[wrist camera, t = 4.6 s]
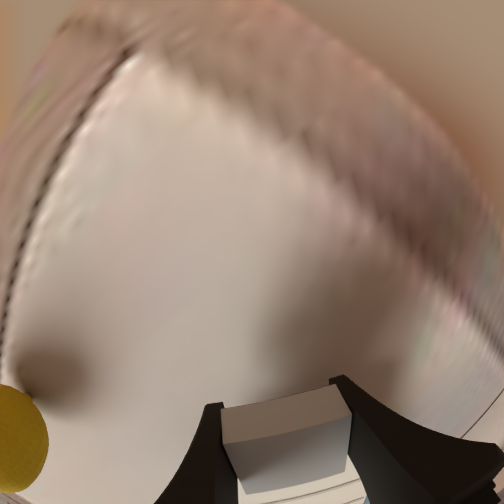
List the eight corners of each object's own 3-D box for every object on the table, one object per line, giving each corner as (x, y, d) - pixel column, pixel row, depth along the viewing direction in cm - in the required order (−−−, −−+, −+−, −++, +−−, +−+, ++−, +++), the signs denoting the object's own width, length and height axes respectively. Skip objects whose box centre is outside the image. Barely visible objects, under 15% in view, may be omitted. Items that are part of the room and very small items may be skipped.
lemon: (38, 361, 12) (-30, 464, 4) (79, 430, 13) (44, 528, 5) (-16, 357, 11) (-78, 431, 3) (22, 421, 13) (-18, 498, 5)
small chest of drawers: (356, 505, 13) (363, 521, 12) (238, 532, 13) (240, 549, 11) (389, 365, 9) (411, 390, 8) (159, 415, 9) (154, 448, 7)
